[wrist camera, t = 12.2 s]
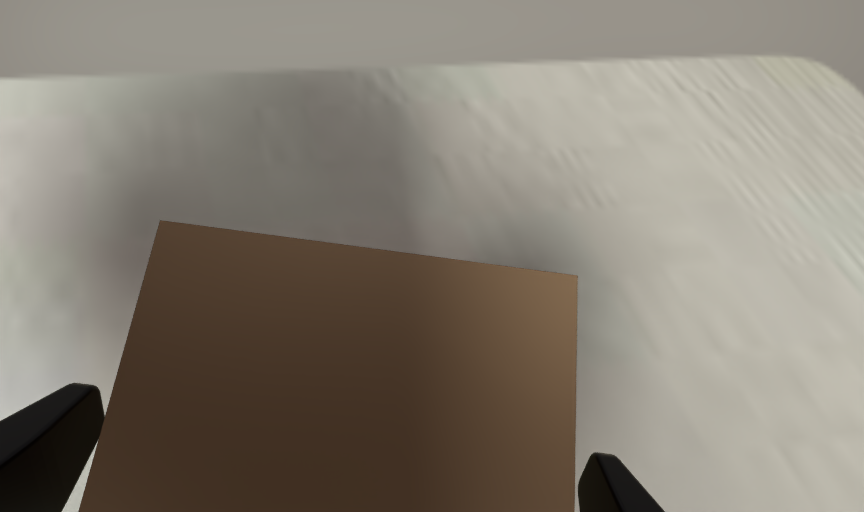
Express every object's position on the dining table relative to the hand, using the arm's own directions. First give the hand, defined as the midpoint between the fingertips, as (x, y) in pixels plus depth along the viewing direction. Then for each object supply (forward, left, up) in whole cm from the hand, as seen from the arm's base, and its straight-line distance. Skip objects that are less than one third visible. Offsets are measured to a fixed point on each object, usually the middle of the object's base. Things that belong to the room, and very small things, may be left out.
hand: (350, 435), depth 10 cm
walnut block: (0, +1, -9) cm, 9 cm away
